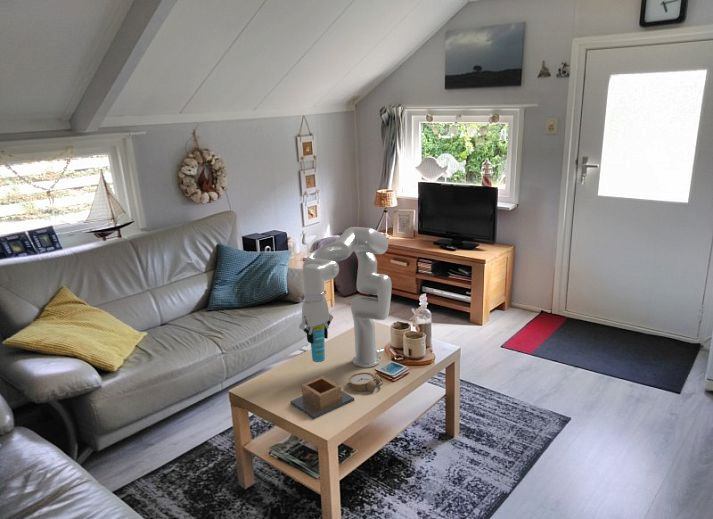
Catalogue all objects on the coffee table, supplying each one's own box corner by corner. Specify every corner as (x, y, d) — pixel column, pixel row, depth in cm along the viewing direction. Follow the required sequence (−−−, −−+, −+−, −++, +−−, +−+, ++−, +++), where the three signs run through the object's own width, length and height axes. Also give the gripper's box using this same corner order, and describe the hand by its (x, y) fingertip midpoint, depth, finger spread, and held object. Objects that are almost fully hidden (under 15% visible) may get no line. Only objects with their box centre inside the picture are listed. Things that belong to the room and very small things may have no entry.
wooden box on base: (330, 386, 234) (329, 371, 232) (354, 400, 222) (353, 384, 220) (290, 403, 222) (289, 387, 220) (313, 419, 210) (312, 402, 208)
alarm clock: (354, 371, 241) (385, 370, 234) (356, 381, 242) (388, 381, 235) (343, 383, 231) (375, 383, 224) (346, 393, 232) (378, 394, 225)
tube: (313, 364, 213) (310, 318, 208) (307, 360, 217) (304, 314, 212) (330, 359, 217) (327, 313, 212) (323, 355, 221) (320, 310, 216)
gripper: (327, 289, 218) (329, 331, 223) (290, 299, 208) (293, 343, 212) (338, 293, 212) (341, 336, 217) (301, 304, 202) (304, 349, 207)
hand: (317, 339), depth 215 cm, fingers closed on tube, 6 cm apart
